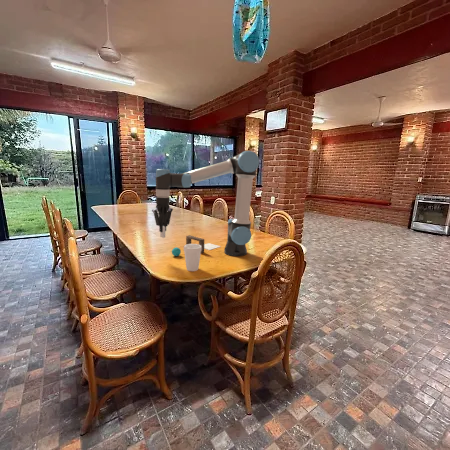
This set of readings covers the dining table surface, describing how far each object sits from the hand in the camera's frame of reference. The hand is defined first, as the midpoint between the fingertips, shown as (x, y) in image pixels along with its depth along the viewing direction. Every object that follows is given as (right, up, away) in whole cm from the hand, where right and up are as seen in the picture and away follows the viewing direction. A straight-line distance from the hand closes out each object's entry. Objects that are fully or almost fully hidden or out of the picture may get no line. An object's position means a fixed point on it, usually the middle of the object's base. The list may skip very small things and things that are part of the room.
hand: (162, 237), depth 143 cm
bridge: (+16, -10, +22) cm, 29 cm away
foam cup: (+19, -17, -10) cm, 27 cm away
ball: (+6, -10, +9) cm, 15 cm away
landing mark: (+25, -9, +33) cm, 42 cm away
